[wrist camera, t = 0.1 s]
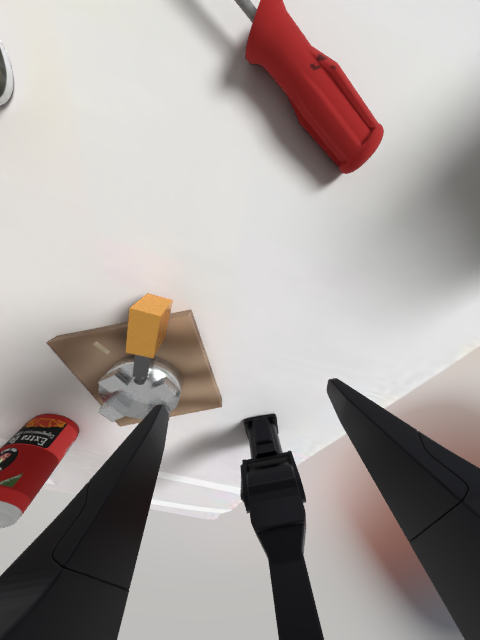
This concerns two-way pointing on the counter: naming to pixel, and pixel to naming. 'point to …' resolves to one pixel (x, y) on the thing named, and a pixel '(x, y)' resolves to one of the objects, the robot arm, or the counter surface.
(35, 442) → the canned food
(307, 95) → the screwdriver
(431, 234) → the counter surface
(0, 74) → the supplement bottle
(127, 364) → the silver tabbed disc tool
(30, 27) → the counter surface
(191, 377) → the board
